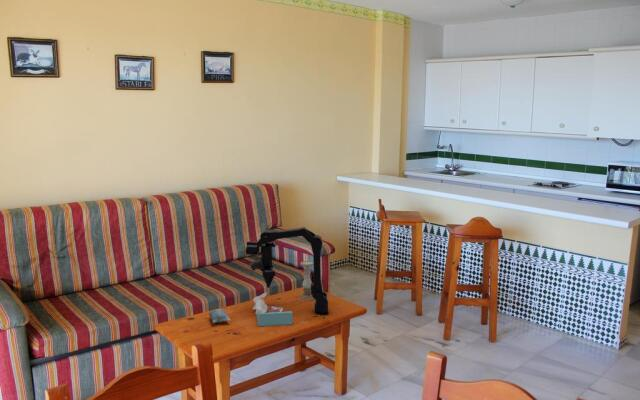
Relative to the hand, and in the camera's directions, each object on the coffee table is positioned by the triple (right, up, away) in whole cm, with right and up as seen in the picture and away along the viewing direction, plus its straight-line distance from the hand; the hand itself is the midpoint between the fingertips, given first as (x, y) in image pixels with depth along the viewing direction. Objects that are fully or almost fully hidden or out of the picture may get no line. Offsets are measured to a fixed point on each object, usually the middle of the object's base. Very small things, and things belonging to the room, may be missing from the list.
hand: (267, 285), depth 281 cm
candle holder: (+20, -11, +22) cm, 32 cm away
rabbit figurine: (-3, -14, +1) cm, 14 cm away
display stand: (+5, -16, -12) cm, 20 cm away
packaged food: (-19, -18, -15) cm, 30 cm away
